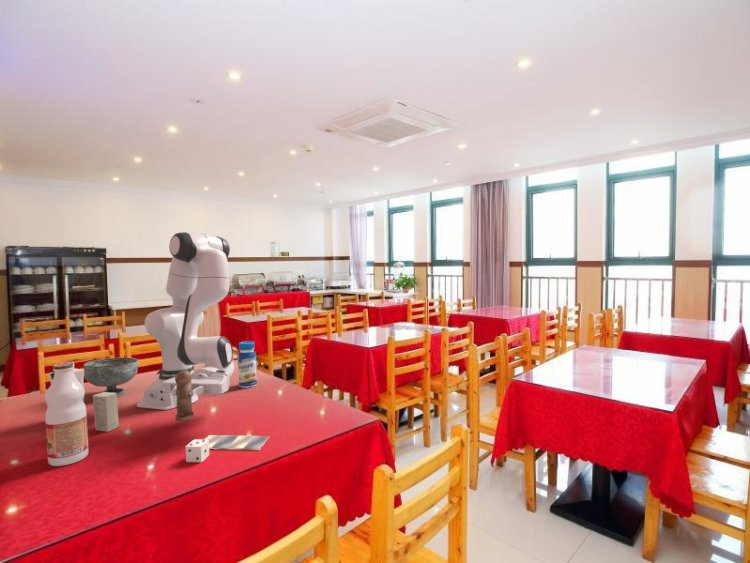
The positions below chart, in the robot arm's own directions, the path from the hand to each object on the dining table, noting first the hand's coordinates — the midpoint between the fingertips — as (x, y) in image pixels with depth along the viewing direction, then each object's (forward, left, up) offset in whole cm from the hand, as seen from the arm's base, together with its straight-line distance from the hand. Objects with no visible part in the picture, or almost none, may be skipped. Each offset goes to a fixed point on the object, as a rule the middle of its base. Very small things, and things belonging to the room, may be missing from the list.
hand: (182, 393), depth 124 cm
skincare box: (-34, +10, -16) cm, 39 cm away
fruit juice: (-29, -11, -16) cm, 35 cm away
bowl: (-59, +45, -16) cm, 76 cm away
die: (+9, -9, -16) cm, 21 cm away
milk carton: (-54, +17, -16) cm, 59 cm away
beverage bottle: (-4, +59, -16) cm, 61 cm away
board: (+15, +1, -16) cm, 22 cm away
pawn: (0, +1, -8) cm, 8 cm away
